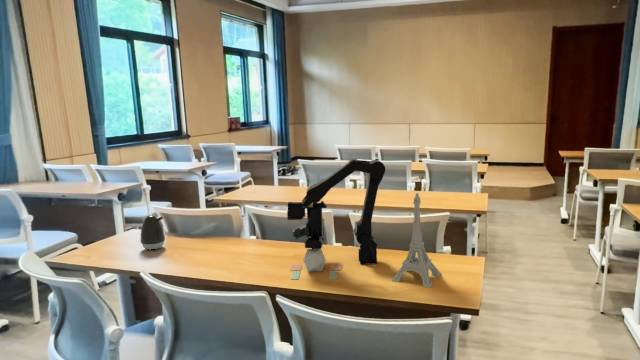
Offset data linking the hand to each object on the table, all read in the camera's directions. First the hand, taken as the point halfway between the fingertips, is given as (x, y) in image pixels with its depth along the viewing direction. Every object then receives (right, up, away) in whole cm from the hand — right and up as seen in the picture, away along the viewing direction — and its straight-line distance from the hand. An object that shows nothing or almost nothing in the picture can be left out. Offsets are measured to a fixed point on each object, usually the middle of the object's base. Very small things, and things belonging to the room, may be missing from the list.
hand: (315, 258), depth 169 cm
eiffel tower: (+35, -4, -16) cm, 39 cm away
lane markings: (0, -4, -8) cm, 9 cm away
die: (0, -3, -6) cm, 7 cm away
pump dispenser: (-72, -1, +26) cm, 77 cm away
